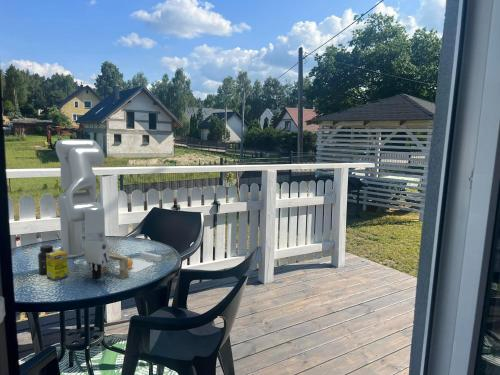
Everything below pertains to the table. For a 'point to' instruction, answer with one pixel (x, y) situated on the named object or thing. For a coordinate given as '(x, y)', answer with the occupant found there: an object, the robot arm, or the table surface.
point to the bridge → (122, 263)
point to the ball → (130, 263)
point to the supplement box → (56, 265)
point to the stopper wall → (151, 256)
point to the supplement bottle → (43, 258)
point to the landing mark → (138, 265)
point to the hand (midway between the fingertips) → (96, 278)
